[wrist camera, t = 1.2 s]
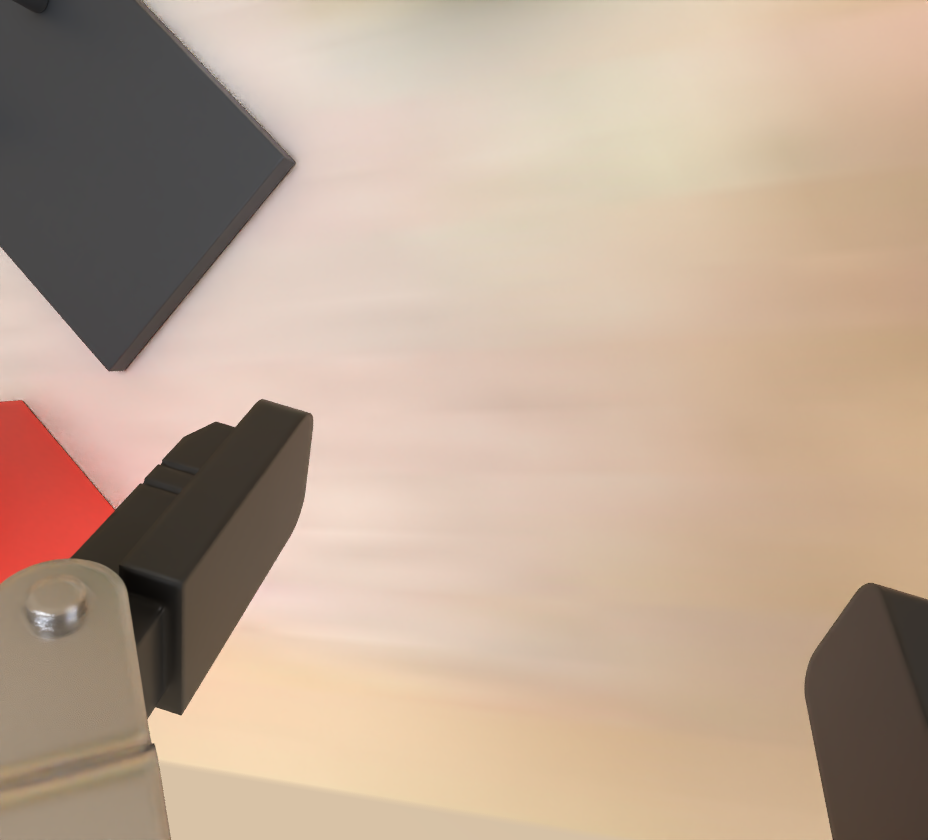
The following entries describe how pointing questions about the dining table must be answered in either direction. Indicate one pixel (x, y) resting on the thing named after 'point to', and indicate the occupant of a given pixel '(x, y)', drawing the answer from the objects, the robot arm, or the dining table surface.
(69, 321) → the dish rack
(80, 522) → the red rectangular block
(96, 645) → the robot arm
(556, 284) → the dining table surface
